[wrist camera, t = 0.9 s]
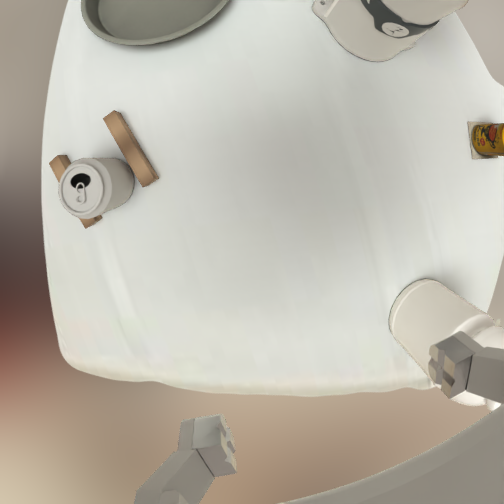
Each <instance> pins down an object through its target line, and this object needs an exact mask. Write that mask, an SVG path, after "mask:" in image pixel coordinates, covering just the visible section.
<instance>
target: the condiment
mask: <svg viewBox="0 0 504 504" xmlns="http://www.w3.org/2000/svg"><path fill="white" fill-rule="evenodd" d="M468 127H469V136H470V144H471V151H472V159H486V158H498V156H504V123H501V124H493V123H485V122H468Z"/></svg>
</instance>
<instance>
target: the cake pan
mask: <svg viewBox="0 0 504 504" xmlns="http://www.w3.org/2000/svg"><path fill="white" fill-rule="evenodd" d="M227 2H228V0H81V11H82V16H83V19H84V21H85V23H86V25H87V26H88V28H89V29H90V30H91V31H92V32H93V33H94V34H96V35H97V36H99V37H101V38H103V39H105V40H107V41H110V42H113V43H117V44H124V45H147V44H156V43H162V42H166V41H170V40H173V39H176V38H179V37H181V36H183V35H186V34H188V33H189V32H191V31H193V30H195V29H196V28H198V27H199V26H201V25H203V24H204V23H206V22H207V21H209V20H210V19H211V18H212V17H214V16H215V15H216V14H217V13H218V12H219V11H220V10H221V9H222V8H223V7H224V6H225V4H226V3H227Z"/></svg>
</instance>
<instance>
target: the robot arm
mask: <svg viewBox="0 0 504 504" xmlns="http://www.w3.org/2000/svg"><path fill="white" fill-rule="evenodd" d="M467 2H468V0H315V2H314V4H313V6H312V10H313V12H314V13H315V14H316V15H317V16H318V17H319V18H321V19H322V20H323V21H324V22H325V23H326V25H327V26H328V28H329V30H330V32H331V33H332V35H333V36H334V38H335V39H336V40H337V41H338V43H339V44H340V45H342V46H343V47H344V48H345V49H346V50H348V51H349V52H351V53H352V54H354V55H356V56H358V57H360V58H363V59H366V60H369V61H386V60H389V59H391V58H393V57H395V56H396V55H397V54H398V53H399V52H400V51H402V50H408V49H411V48H413V47H414V46H415V41H416V40H417V39H418V38H420V37H421V36H422V35H424V34H425V33H426V32H427V31H428V30H430V29H431V28H432V27H434V26H435V25H436V24H437V23H438V22H439V20H440V19H441V18H443V17H445V16H447V15H449V14H451V13H453V12H455V11H456V10H458V9H460V8H462V7H464V6H465V5H466V4H467ZM321 3H323V4H324V5H322V4H321ZM429 355H430V356H431V359H430V361H429V363H428V371H429V375H430V377H431V379H432V380H433V382H434V383H435V384H439V385H441V390H442V391H443V392H444V394H445V395H446V396H447V397H448V398H449V399H451V398H453V397H454V396H456V395H458V394H460V393H462V392H464V391H465V390H466V391H467V392H469V393H472V394H475V395H478V396H481V397H483V398H486V399H489V400H492V401H495V402H498V403H501V405H500V406H499V407H498V408H496V409H495V410H494V411H492V412H491V413H489V414H488V415H487V416H485V417H483V418H482V419H480V420H479V421H477V422H476V423H474V424H473V425H471V426H470V427H468V428H466V429H465V430H463V431H461V432H460V433H458V434H457V435H455V436H453V437H451V438H450V439H448V440H446V441H444V442H442V443H441V444H439V445H437V446H435V447H433V448H432V449H430V450H428V451H426V452H424V453H422V454H420V455H418V456H416V457H414V458H411V459H409V460H407V461H405V462H403V463H401V464H398V465H396V466H394V467H392V468H389V469H387V470H385V471H382V472H380V473H377V474H375V475H372V476H370V477H367V478H364V479H362V480H359V481H356V482H353V483H350V484H348V485H345V486H342V487H338V488H335V489H333V490H329V491H326V492H322V493H319V494H315V495H312V496H308V497H304V498H300V499H296V500H292V501H288V502H283V503H279V504H504V349H500V348H494V347H485V348H484V347H482V346H481V345H480V344H479V343H477V342H476V341H475V340H473V339H472V338H471V337H469V336H468V335H467V334H465V333H464V332H463V331H458V332H456V333H454V334H453V335H451V336H449V337H447V338H445V339H443V340H441V341H439V342H437V343H435V344H433V345H431V346H430V348H429ZM234 452H235V443H234V438H233V435H232V432H231V430H230V428H228V427H226V420H225V418H224V416H223V414H217V415H211V416H205V417H198V418H193V419H185V420H182V422H181V426H180V435H179V442H178V450H177V452H173V453H172V454H171V455H170V456H169V457H168V459H167V460H166V461H165V462H164V463H163V464H162V465H161V466H160V467H159V468H158V469H157V470H156V471H155V472H154V473H153V474H152V475H151V476H150V477H149V479H147V481H146V482H145V483H144V484H143V485H142V486H141V487H140V488H139V489H138V490H137V492H136V496H135V502H134V504H199V503H200V501H201V499H202V498H203V496H204V495H205V493H206V492H207V490H208V488H209V487H210V485H211V483H212V482H213V480H214V479H215V478H214V477H218V476H224V475H230V474H235V473H237V466H236V459H235V457H234V455H233V453H234Z"/></svg>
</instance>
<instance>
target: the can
mask: <svg viewBox="0 0 504 504" xmlns="http://www.w3.org/2000/svg"><path fill="white" fill-rule="evenodd" d="M133 186H134V179H133V174H132V172H131V170H130V168H129V166H128V165H127V164H125V163H124V162H123V161H121V160H119V159H114V158H81V159H79V160H76V161H74V162H73V163H72V164H70V165H69V166H68V167H67V169H66V170H65V172H64V173H63V175H62V177H61V179H60V182H59V192H58V193H59V197H60V201H61V203H62V205H63V207H64V208H65V209H66V210H67V211H68V212H69V213H71V214H72V215H74V216H76V217H78V218H82V219H90V218H93V217H96V216H98V215H101V214H103V213H105V212H107V211H110V210H112V209H114V208H117V207H119V206H121V205H122V204H124V203H125V202H126V201H127V200H128V198H129V197H130V196H131V193H132V191H133Z"/></svg>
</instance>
